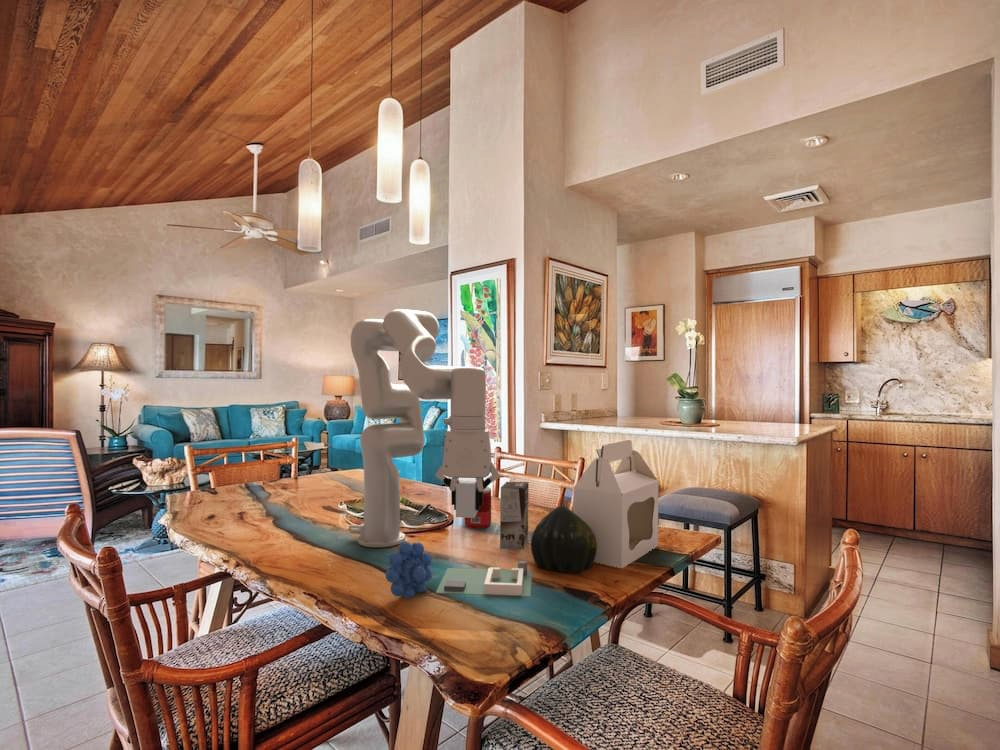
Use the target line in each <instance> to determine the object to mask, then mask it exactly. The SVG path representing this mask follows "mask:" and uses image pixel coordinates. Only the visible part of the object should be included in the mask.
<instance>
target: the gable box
mask: <svg viewBox="0 0 1000 750" xmlns="http://www.w3.org/2000/svg"><path fill="white" fill-rule="evenodd" d="M595 451H596V454H597V455H598V457H596V458H594V459H593V460H592V461H591V462H590V464H589V465H588V467H587V468H586V470H585V471H584V472H583V474H582V475H581V477H580V478H579V479H578V481H577V482H576V484H575V485H574V486H573V490H572V491H573V495H572V496H573V497H572V499H573V501H572V502H573V503H572V506H573V507H572V509H573V511H572V512H573V513H575V514H576V515H577V516H578V517H580V518H581V519H582V520H583V521H584V522H585V523H586V524H587V525H588V526H589V527H590V528H591V529H592V531H593V533H594V535H595V538H596V543H597V550H596V556H595V559H594V562H593V563H595V562H596V563H597V564H599V563H600V565H603V564H604V565H603V566H609V567H612V566H613V567H612V568H616V567H617V569H620V568H622V569H623V568H626V567H627V566H629V565H630V564H632V563H633V562H635V561H637V560H638V559H640V558H642V557H643V556H645V555H646V554H648V553H649V551H650V552H651V551H653V550H655V549H656V548H658V547H659V480H658V479H657V477H656V476H655V475H654V473H653V472H652V470H651V468H650V467H649V466H648V464H647V463H646V461H645V459H643V457H642V455H641V453H640V452H638V451H636V450H634V449H633V441H632V440H631V439H626V440H622V441H617V442H612V443H607V444H603V445H602V446H601V448H598V449H595ZM620 460H621V461H620ZM616 461H620V463H619V464H618V466H617V468H616V470H615V473H614V472H613V470H612V467H611V465H610V463H612V462H616ZM636 541H637V542H636ZM657 546H658V547H657ZM652 549H653V550H652ZM628 564H629V565H628Z"/></svg>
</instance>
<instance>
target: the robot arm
mask: <svg viewBox="0 0 1000 750" xmlns="http://www.w3.org/2000/svg"><path fill="white" fill-rule="evenodd" d="M437 319H438V318H436V316H435V315H434V314H433V313H431V312H428V311H422V310H413V309H406V308H405V309H404V308H399V309H394V310H393V309H392V310H391V311H389V312H388V313H387V314H385V316H384V318H383V319H380V318H379V319H378V318H377V319H376V318H369V319H361V320H359V321H357V322H356V323H355V324H354V326H353V327H352V330H351V335H350V347H351V353H352V357H353V358H354V362H355V365H356V367H357V372H358V376H359V378H358V379H359V389H360V398H361V405H362V410H363V413H364V415H365V417H367V418H369V419H372V420H392V419H393V420H394V419H398V421H399V422H395V423H394V422H388V423H387V422H386V423H378V424H377V423H376V424H373V425H369V426H367V427H366V428H364V429H363V431H362V432H361V434H360V439H359V440H360V441H359V443H360V444H359V445H360V449H361V450H360V451H361V456H362V462H363V465H362V466H363V523H360V524H353V523H352V524H349V526H348V531H349V533H350V534H358V536H357V544H358V545H360V546H362V547H367V548H388V547H393V546H398V545H400V544H401V543H402V542H406V534H405V533H403V532H402V531H400V529H401V528H400V527H401V526H400V517H401V516H400V515H401V514H400V512H401V510H400V509H401V508H400V507H401V506H400V505H401V504H400V503H401V498H400V496H401V495H400V494H401V482H400V481H401V478H400V477H401V475H400V472H399V470H398V468H397V467H396V465H395V463H394V462H393V459H396V458H405V457H406V458H407V457H408V458H409V457H413V456H417V455H419V454H421V452H422V451H423V449H424V445H425V431H424V424H423V417H422V416H423V415H422V408H421V403H420V402H421V401H420V399H422V400H426V401H427V400H450V416H449V417H447V418H446V417H445V418H443V425H447V426H449V428H450V429H447V430H446V432H445V437H444V446H443V456H442V463H441V465H440V467H439V468H438V470H437V471H436V473H435V478H437V479H439V480H440V481H442V482H443V483H444V484H445V485H446V486H447V487H448V488H449V490H450V491H451V505H452V506H453V510H454V511H456V483H457V482H458V481H459V480H460V479H476V482H477V487H478V488H477V491H476V510H479V509H480V506H483V490H484V489H485V488H486V487H488V486H489V485H490V484H492V483H494V482H495V481H496V480H498V479H499V478H500V477H501V475H500V473H499V472H498V469H497V468H496V466H495V465H494V464H493V461H492V449H491V440H490V439H491V438H490V433H489V430H488V429H486V384H487V383H486V382H487V381H486V371H485V370H484V368H482V367H480V366H479V367H478V366H459V365H458V366H455V365H454V366H453V365H450V366H449V365H426V364H425V363H426V362H428V361H429V360H430V359H431V358H432V357H433V356H434V354H435V352H436V349H437V343H436V339H437V338H438V335H439V331H440V324H439V321H438V320H437ZM379 351H381V352H384V351H385V352H400V353H401V358H400V360H399V361H400V363H399V369H400V375H401V378H402V381H403V383H404V384H394V383H393V382H392V377H391V369H390V367H389V364H388V363H387V362H386V360H385V359H384V357H383V356H382V355H381V354H380V353H379ZM489 475H490V476H489Z"/></svg>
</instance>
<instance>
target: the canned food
mask: <svg viewBox="0 0 1000 750" xmlns="http://www.w3.org/2000/svg"><path fill="white" fill-rule="evenodd" d="M491 524H492V488H491V487H488V486H487V487H486V488H485V489H484V490H483V506H480V509H479V510H478V512H477V514H476V516H475V518H464V525H465V527H466V528H469V529H475V530H476V529H478V530H479V529H486V528H489V527H490V526H491Z"/></svg>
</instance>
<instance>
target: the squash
mask: <svg viewBox="0 0 1000 750" xmlns="http://www.w3.org/2000/svg"><path fill="white" fill-rule="evenodd" d="M531 536H532V537H531V539H530V551H531V554H532V558H533V561H534V563H535V564H536V566H537V567H538V568H542V569H547V570H548V571H550V572H556V571H559V572H565V571H566V572H568V573H570V574H574V575H578V574H582V572H583V571H584V570H589V569H590V568H591V567H592V566H593V564H594V563H595V562H594V559H595V556H596V550H597V543H596V538H595V535H594V533H593V531H592V529H591V528H590V527H589V526H588V525H587V524H586V523H585V522H584V521H583V520H582V519H581V518H580V517H578V516H577V515H576V514H575V513H573V511H572V510H571V509H569V507H567V506H565V505H563V504H561V505H560V506H557V507H556V508H554V509H553V510H551V511H550V512H549V513H547V514H546V515H545V516H544V517H543V518H541V520H540V521H539V522H538V523H537V525H536V526H535V528H534V531H533V533H532V535H531Z"/></svg>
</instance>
